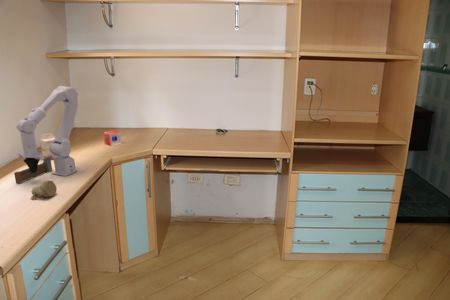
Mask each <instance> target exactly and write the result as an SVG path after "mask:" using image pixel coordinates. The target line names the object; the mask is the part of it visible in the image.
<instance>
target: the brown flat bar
mask: <svg viewBox="0 0 450 300" xmlns="http://www.w3.org/2000/svg"><path fill="white" fill-rule="evenodd" d="M44 173H48V172H47V170H46V164H45V162H44V161H43V162H41V163H38V166H37V172H35V173H31V171H30V169H29V167H28V168H25V169H23V170H20V171H14V172H13V174H14V179H15V183H16V184H20V183H22V182H24V181H27V180H30V179H33V178H35V177H36V176H39V175H42V174H44Z"/></svg>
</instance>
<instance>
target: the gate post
mask: <svg viewBox="0 0 450 300" xmlns="http://www.w3.org/2000/svg"><path fill="white" fill-rule="evenodd" d="M50 158H51V157H49V156H46V157H45V159H43V160H42V161H43V162H45V164H46V170H47V172H46V173H51V172H52V171H53V167H52V166H53V165H52V160H51V159H50Z"/></svg>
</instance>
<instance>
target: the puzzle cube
mask: <svg viewBox="0 0 450 300" xmlns="http://www.w3.org/2000/svg"><path fill="white" fill-rule="evenodd" d="M103 138H104V139H103V140H104V145H107V146H109V147H112V146H117V145H123V142H122V140H123V139H122V132H121V131H118V130H114V129H113V130H110V131H109V130H108V131H104V132H103Z"/></svg>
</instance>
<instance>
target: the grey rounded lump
mask: <svg viewBox="0 0 450 300" xmlns="http://www.w3.org/2000/svg"><path fill="white" fill-rule="evenodd" d="M31 194H32V195H31V196H30V200H31V199H32V200H34V199H35V200H37V199H39V198H42V197H44V198H51V197H54V196H55V195H56V194H57V185H56V183H55V182H54V181H53V180H45V181H43V182H42V183H40V184H39V185H38V186H35V187H33V188H32V189H31Z"/></svg>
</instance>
